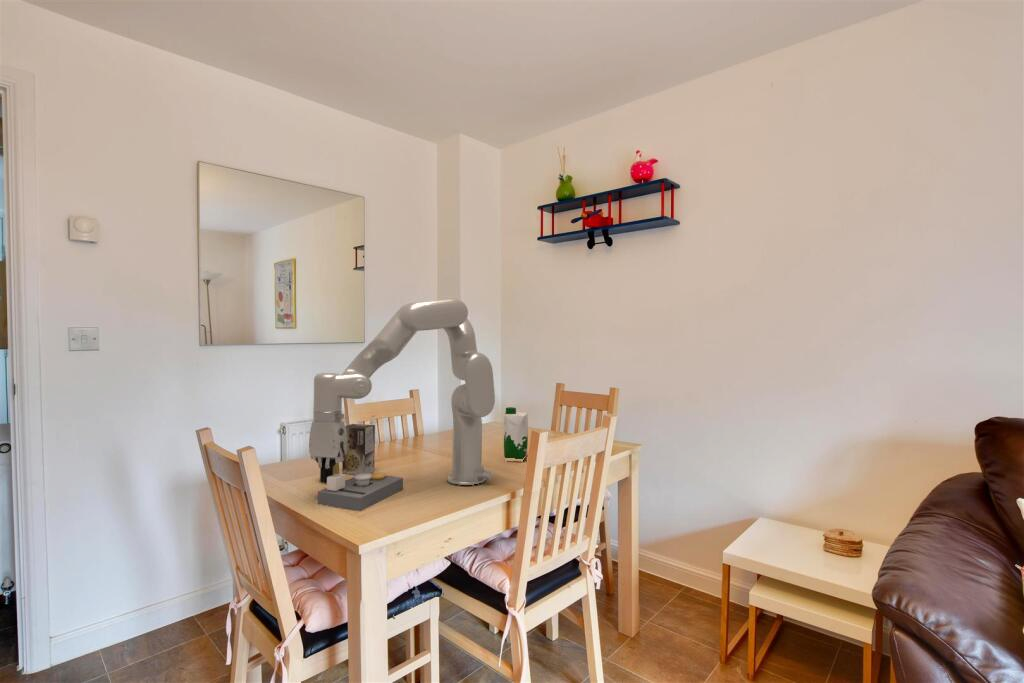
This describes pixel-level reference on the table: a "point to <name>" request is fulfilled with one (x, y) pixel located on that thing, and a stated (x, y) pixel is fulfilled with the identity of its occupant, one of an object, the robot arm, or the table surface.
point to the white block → (336, 482)
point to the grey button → (362, 479)
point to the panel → (360, 493)
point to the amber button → (377, 476)
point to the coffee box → (359, 449)
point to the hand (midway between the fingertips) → (326, 481)
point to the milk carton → (515, 434)
